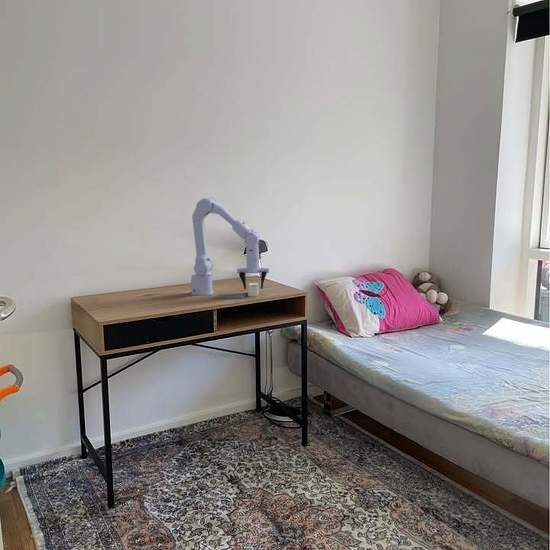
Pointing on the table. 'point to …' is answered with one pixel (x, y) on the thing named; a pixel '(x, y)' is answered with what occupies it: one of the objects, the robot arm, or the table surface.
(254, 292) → the white rectangular block
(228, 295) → the mat
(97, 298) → the table surface
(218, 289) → the table surface
